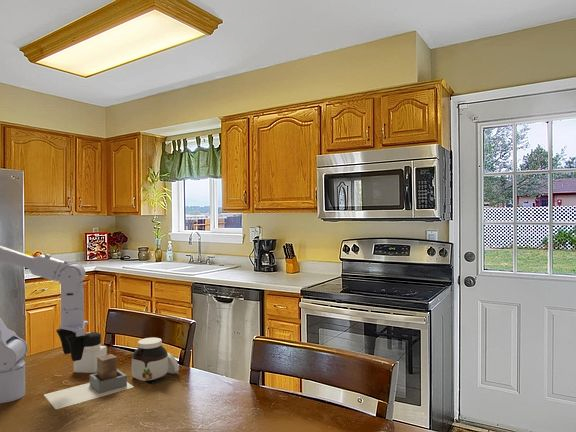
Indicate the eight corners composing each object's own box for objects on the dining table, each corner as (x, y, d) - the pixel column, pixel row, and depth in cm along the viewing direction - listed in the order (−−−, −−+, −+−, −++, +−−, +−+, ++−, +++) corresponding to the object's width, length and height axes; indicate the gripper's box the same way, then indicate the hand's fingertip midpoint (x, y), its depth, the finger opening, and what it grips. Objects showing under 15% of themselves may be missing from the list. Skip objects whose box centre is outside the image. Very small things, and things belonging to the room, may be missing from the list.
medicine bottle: (107, 367, 138) (106, 330, 138) (95, 376, 131) (94, 337, 131) (86, 367, 139) (86, 330, 139) (73, 375, 132) (72, 336, 131)
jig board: (55, 413, 106) (55, 397, 106) (43, 398, 115) (43, 383, 115) (134, 390, 120) (134, 376, 120) (117, 378, 129) (117, 365, 129)
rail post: (102, 389, 118) (102, 360, 118) (97, 385, 121) (97, 357, 121) (117, 385, 120) (116, 357, 120) (111, 381, 123) (111, 353, 123)
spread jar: (127, 382, 125) (127, 343, 125) (149, 369, 136) (148, 332, 136) (164, 386, 123) (164, 346, 123) (183, 372, 134) (182, 335, 134)
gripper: (96, 309, 115) (96, 359, 115) (79, 301, 126) (79, 347, 126) (68, 314, 110) (68, 366, 110) (53, 305, 121) (53, 352, 121)
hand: (72, 356), depth 118 cm, fingers open, 7 cm apart
